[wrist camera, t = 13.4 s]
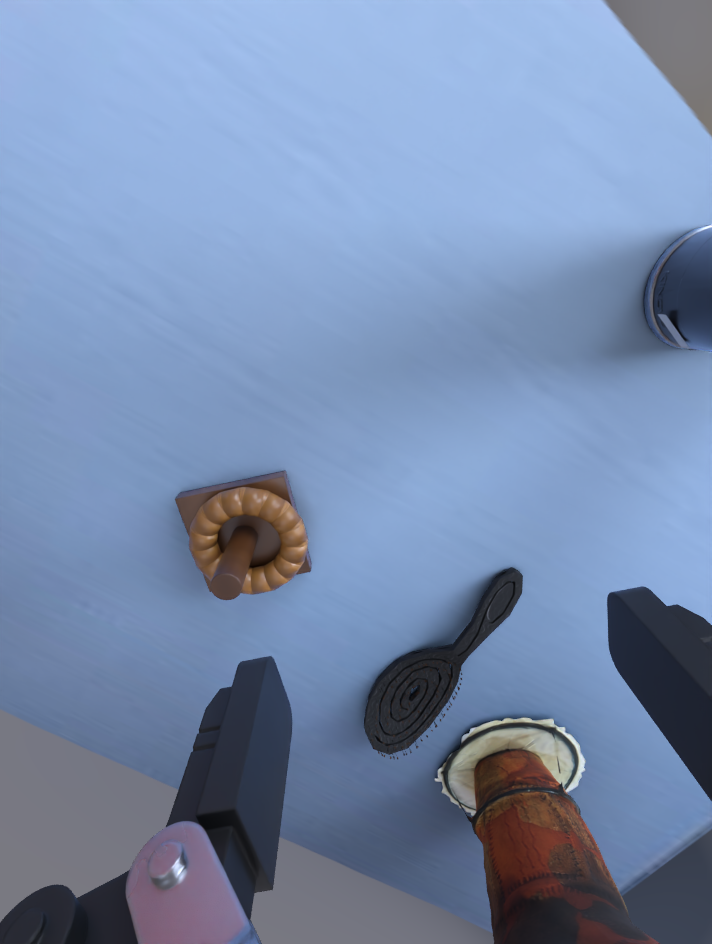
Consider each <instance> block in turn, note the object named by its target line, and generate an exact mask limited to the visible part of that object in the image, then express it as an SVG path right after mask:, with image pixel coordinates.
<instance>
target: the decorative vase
mask: <svg viewBox="0 0 712 944" xmlns="http://www.w3.org/2000/svg"><path fill="white" fill-rule="evenodd" d="M585 762H586V761H585V759H584V757H583V755H582V754H581V752H580V745H579V744H578V743H577V741H576V740H575V739H574V738H573V736H572V735H571V734H568V733H565V727H558V726H556V725H555V724H554V719H545V720H538V721H533V720H532V719H530V718H520V719H516V720H514V719H510V718H505V719H504V720H503V721H497V720H495V721H492V722H488V723H485V724H483V725H481V726H479V727H475V728H471V729H470V733H469V734H465V735H463V737H462V743H461V746H460V749H459V750H457V751H455V752H453V753H452V754H451V755H450V756H449V757H448V759H447V761H446V762H445V763H444V764H443V767H441V768H440V769H438V778H437V779H435V781H437V782H442V785H443V790H442V793H444V794H446V795H447V796H448V797H450V801H451V802H453V803H454V804H457V805H459V808H462V809H463V808H464V809H465V811H466V812H471V815H474V816H473V817H472V818H471V817H469V816H467V815H466V816H467V818H468V820H469V821H470V822H471V824H472V827H473V830H474V833H475V834H476V835H477V836H478V838H479V840H480V841H481V842H482V844H483V848H484V868H485V873H486V883H487V892H488V897H489V902H490V908H491V923H492V929H493V937H494V944H660V943H658V942H657V941H655V940H654V939H653V938H651V937H650V936H648V935H647V934H646V933H644V932H643V931H641V930H640V929H639V928H637V927H636V926H635V925H634V924H633V923H632V922H631V920H630V918H629V915H628V911H627V908H626V906H625V903H624V901H623V899H622V897H621V895H620V893H619V891H618V889H617V887H616V885H615V883H614V881H613V879H612V877H611V875H610V873H609V871H608V869H607V867H606V865H605V862H604V860H603V858H602V855H601V853H600V850H599V848H598V846H597V844H596V842H595V840H594V838H593V837H592V835H591V833H590V831H589V829H588V828H587V826H586V824H585V822H584V821H583V819H582V818H581V816H580V808H579V807H578V805H577V804H576V803H575V801H574V800H573V799H572V798H571V796H569V795H568V794H567V792H569V791H570V790H572V789H574V788H575V787H577V786H578V781H579V780H580V778H581V777H582V775H581V773H582V772H584V771H585V769H584V768H583V767H584V765H585ZM464 809H463V810H464ZM465 814H466V813H465Z"/></svg>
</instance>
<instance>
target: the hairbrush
mask: <svg viewBox="0 0 712 944" xmlns="http://www.w3.org/2000/svg"><path fill="white" fill-rule="evenodd" d="M511 581H512V582H511ZM522 581H523V576H522V574H521V573H520V571H518V570H516V569H514V568H510V569H508V570H506V571H504V572H503V573H501V574H499V575H498V576H496V577H495V579H494V580H493V582H492V583H491V584H490V586H489V587H488V589H487V590H486V592H485V593H484V595H483V596H482V598H481V600H480V602H479V604H478V607H477V609H476V611H475V613H474V615H473V617H472V619H471V621H470V623H469V624H468V625H467V626H466V628H465V629H464V630H463V632H462V633H461V634H460V635H459V637H458V638H457V639H456V641H455V642H454V643H453V644H451V645H446V646H441V647H435V648H430V649H425V650H419V651H414V652H411V653H409V654H407V655H405V656H404V657H402V658H400V659H398V660H396V661H394V662H393V663H392V664H391V665H390V666H389V667H388V668H387V669H386V670H385V671H384V672H383V673H382V674H381V675H380V676H379V678H378V679H377V681H376V683H375V685H374V687H373V689H372V690H371V692H370V694H369V697H368V703H367V706H366V712H365V719H364V728H365V732H366V734H367V736H368V739H369V741H370V743H371V745H372V747H373V749H375V750H378V753H379V751H380V752H383V753H386V754H389V755H390V754H392V755H393V753H395V752H398V751H401V750H402V751H403V750H405V749H407V748H408V747H409V746H411V745H412V744H413V743H415V741H416V740H417V739H418V738H419V737H420V736H421V735H422V734H423V733H424V732H425V731H426V730H427V729H428V728H429V727H430V725H431V724H432V723H433V721H434V720H435V718H436V717H437V716H438V714H439V713H440V712H441V710H442V709H443V707H444V706H446V703H447V702H448V700H449V699H450V697H451V695H452V694H453V691H455V690H454V689H455V687H456V686H457V683H458V679H459V674H460V671H461V665H462V664H463V663H464V661H465V660H466V659H467V658H468V656H469V655H470V654H471V653H472V652H473V651H474V650H475V649H476V648H477V647H478V646H479V645H480V644H481V643H482V642H483V641H484V640H485V639H486V638H487V637H488V636H489V635H490V634H491V633H492V632H493V631H494V630H495V629H496V628H497V627H498V626H499V625H500V624H501V623H502V622H503V621H504V620H505V619H506V618H507V617H508V616H509V615H510V614H511V612H512V610H513V608H514V607H515V605H516V603H517V601H518V599H519V597H520V596H521V594H522ZM449 664H451V669H450V665H449ZM437 668H438V669H437ZM438 670H439V676H438ZM461 675H462V673H461ZM461 680H462V678H461ZM426 682H427V684H426ZM418 685H419V687H418V689H417V691H416V692H415V693H414V694H413V695H412V694H411V695H412V696H411V697H410V693H411V690H412V688H413V689H414V687H416V686H418ZM460 685H461V683H460ZM458 690H459V687H458ZM455 693H456V692H455ZM456 694H457V693H456ZM452 697H453V696H452ZM400 698H401V703H400ZM454 698H455V696H454ZM454 698H453V699H454ZM380 700H381V701H380ZM379 702H380V721H381V723H380V722H379ZM390 702H391V710H392V713H391V712H390ZM449 702H450V701H449ZM450 704H451V703H450ZM451 705H452V704H451ZM449 707H450V706H449ZM447 710H448V708H447ZM442 712H443V711H442ZM441 714H442V713H441ZM442 716H443V715H442ZM444 716H445V714H444ZM444 716H443V718H444ZM438 717H439V716H438ZM440 721H441V719H440ZM381 724H382V725H381ZM435 724H436V723H435ZM435 727H437V725H436V726H435ZM431 731H432V730H431ZM427 737H428V736H427ZM421 741H422V739H421ZM415 745H416V744H415ZM417 747H418V745H417V746H416V748H417ZM405 752H406V751H405ZM410 753H411V751H410ZM381 754H382V753H381ZM395 754H396V753H395ZM406 755H407V753H406ZM382 756H383V754H382ZM396 756H397V755H396ZM404 756H405V754H404ZM384 757H385V755H384ZM393 757H394V756H393ZM390 759H391V757H390ZM394 759H395V758H394ZM397 759H398V757H397Z"/></svg>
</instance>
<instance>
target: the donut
mask: <svg viewBox="0 0 712 944" xmlns="http://www.w3.org/2000/svg"><path fill="white" fill-rule="evenodd" d="M242 515H249V516H256V517H259V518H261V519H263V520H265V521H267V522H269V523H270V524H271V525H272V526H273V527H274V529H275V530H276V531H277V532H278V535H279V538H280V541H281V544H280V551H279V553H278V554H277V556H276V558H275V559H274V560H273V561H271V562H269V563H268V564H266V565H264V566H259V567H255V568H251V567H249V569H248V572H247V575H246V578H245V581H244V584H243V588H242V591H241V593H244V594H259V593H264V592H268V591H273V590H275V589H277V588H279V587H280V586H282V585H284V584H285V583H287V582H288V581H290V580H291V579H292V578H293V577H294V576H295V575H296V573H297V572H298V570H299V569H300V567H301V566H302V564H303V563H304V561H305V557H306V551H307V545H308V537H307V534H306V530H305V527H304V523H303V520H302V518H301V517H300V515H299V514H298V513H297V512H296V511H295V509H294V508H293V507H292V506H291V505H290V503H289V502H288V501H286V500H284V499H283V498H281V497H279V496H277V495H275V494H273V493H272V492H270V491H268V490H263V489H256V488H249V487H240V488H236V489H231V490H227V491H223V492H220V493H218V494H217V495H215V496H214V497H212V498H211V499H210V500H208V501H207V502H205V503H204V504H203V505H202V506H201V507H200V509H199V510H198V512H197V514H196V516H195V517H194V519H193V521H192V523H191V525H190V535H189V548H190V551H191V554H192V556H193V559H194V561H195V564H196V566H197V567H198V569H199V570H200V571H201V572H202V573H203V574H204V575H205V576H206V577H207V578H208V579H209V580H210V581H211V580H212V578H213V576H214V573H215V571H216V569H217V567H218V564H219V562H220V560H221V558H222V555H223V553H222V552H221V550H220V547H219V545H218V542H217V540H218V532H219V530H220V528H221V527H222V525H223V524H224V523H225V522H226V521H228V520H229V519H231V518H233V517H237V516H242Z"/></svg>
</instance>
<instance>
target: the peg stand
mask: <svg viewBox="0 0 712 944" xmlns="http://www.w3.org/2000/svg"><path fill="white" fill-rule="evenodd" d="M240 487H249V488H256V489H263V490H268V491H270V492H272V493H273V494H275V495H277V496H279V497H281V498H283V499H284V500H286V501H288V502H289V503H290V505H291V506H292V507H293V508H294V509H295V511H296V512H297V510H296V506H295V502H294V499H293V495H292V492H291V488H290V485H289V481H288V477H287V474H286V471H282V472H277V473H273V474H268V475H263V476H258V477H253V478H249V479H244V480H239V481H234V482H229V483H225V484H220V485H215V486H210V487H206V488H201V489H196V490H191V491H186V492H182V493H179V495H178V496H177V497H176V498H175V501H176V504H177V506H178V509H179V512H180V514H181V517H182V520H183V522H184V525H185V528H186V530H187V533H188V535H190V525H191V523H192V521H193V519H194V517H195V516H196V514H197V512H198V510H199V509H200V507H201V506H202V505H203V504H204V503H205V502H207V501H208V500H210V499H211V498H212V497H214V496H215V495H217V494H218V493H220V492H223V491H227V490H231V489H236V488H240ZM217 542H218V545H219V547H220V550H221V552H222V553H223V555H222V558H221V560H220V562H219V564H218V567H217V569H216V571H215V573H214V576H213V578H212V580H211V581H210V580H209V579H208V578H207V577H206V576H205V575H204V574H203V575H204V578H205V580H206V583H207V586H208V588H209V591H210V592H211V591H212V593H213V594H214V595H215V596H216V597H218V598H220V599H223V600H231V599H234V598H236V597H237V596H238V595H239V594H240V593H241V591H242V588H243V584H244V581H245V578H246V575H247V572H248V569H249V567H251V568H255V567H259V566H264V565H266V564H268V563H269V562H271V561H273V560H274V559H275V558H276V556H277V554H278V553H279V551H280V544H281V541H280V538H279V535H278V532H277V531H276V530H275V529H274V527H273V526H272V525H271V524H270V523H269V522H267V521H265V520H263V519H261V518H259V517H256V516H249V515H242V516H237V517H233V518H231V519H229V520H228V521H226V522H225V523H224V524H223V525H222V527H221V528H220V530H219V532H218V540H217ZM310 571H311V560H310V556H309V552H308V549H307V551H306V557H305V561H304V563H303V564H302V566H301V567H300V569H299V570H298V572H297V573H296V574H301V573H306V572H310Z"/></svg>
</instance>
